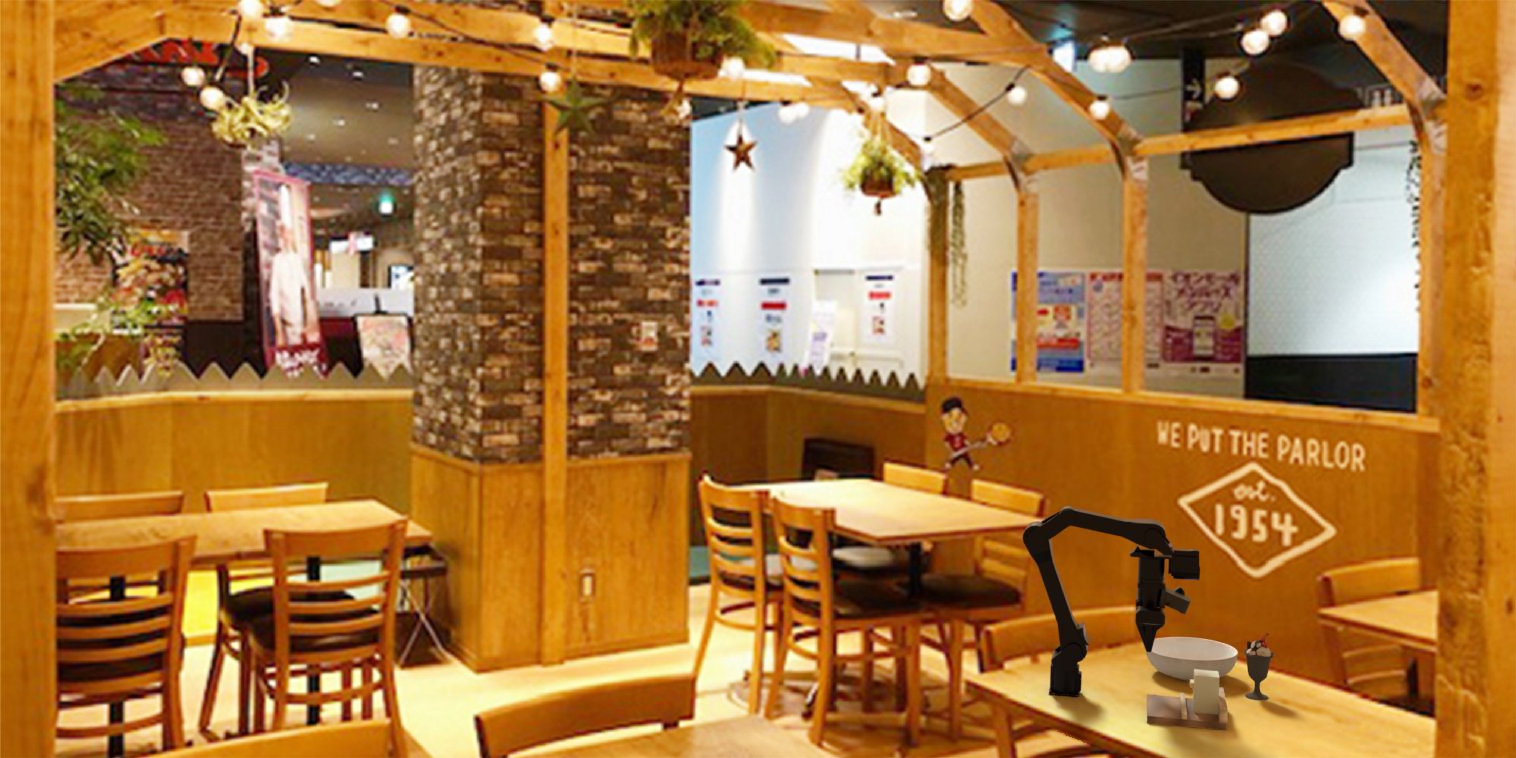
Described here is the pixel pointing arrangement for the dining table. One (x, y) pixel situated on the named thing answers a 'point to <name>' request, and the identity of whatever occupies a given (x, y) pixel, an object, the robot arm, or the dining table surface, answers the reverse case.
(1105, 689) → the dining table surface
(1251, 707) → the dining table surface
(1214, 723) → the cleat board
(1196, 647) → the serving bowl
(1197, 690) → the cabinet block
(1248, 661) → the sundae
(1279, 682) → the dining table surface
